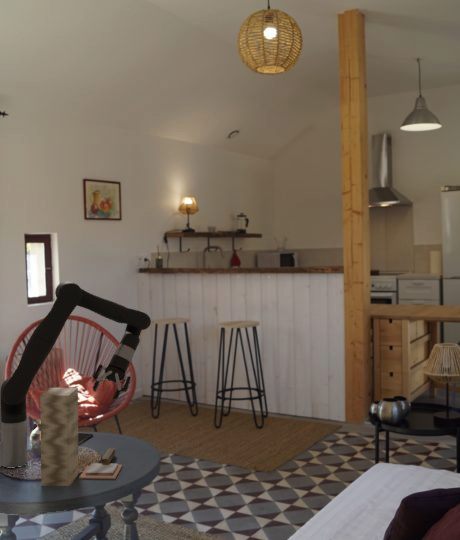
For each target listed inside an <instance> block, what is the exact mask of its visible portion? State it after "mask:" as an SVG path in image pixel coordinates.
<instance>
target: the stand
mask: <svg viewBox="0 0 460 540" xmlns="http://www.w3.org/2000/svg"><path fill="white" fill-rule="evenodd" d="M39 397H40V403H39V404H40V421H41V440H40V466H41V467H40V471H41V473H40V475H41V477H40V481H41V482H40V483H41V484H40V485H41V487H70V486H71V485H72V484H73V482H74V481H75V480H76V478H77V477H78V475H79V474H80V473H79V446H78V433H79V389H78V387H49V388H48V389H47V390H45V391H44V392H43V393H42V394H40V396H39Z"/></svg>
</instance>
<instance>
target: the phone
mask: <svg viewBox="0 0 460 540" xmlns="http://www.w3.org/2000/svg"><path fill="white" fill-rule="evenodd" d="M93 437H94V434H93V433H85V432H84V433H82V432H78V447H79V446H81V445H82V444H83V443H85V442H86V441H88V440H90V439H91V438H93Z"/></svg>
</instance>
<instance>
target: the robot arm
mask: <svg viewBox="0 0 460 540" xmlns="http://www.w3.org/2000/svg"><path fill="white" fill-rule="evenodd" d="M54 294H55V301H54V303H53V305H52V307H51V309H50V310H49V312H48V313H47V315H46V316H45V317H44V318H43V319H42V320H41V321H40V322H39V324H38V325H37V326H36V327H35V328H34V330H33V332H32V333H31V335H30V337H29V339H28V341H27V343H26V345H25V347H24V349H23V352H22V355H21V358H20V360H19V362H18V365H17V367H16V368H15V371H14V372H13V373H12V375H11V376H10V377H9V378H7V379H5V380H4V381H3V382H2V384H1V386H0V421H1V422H0V426H1V428H0V430H1V435H0V436H1V437H0V438H1V441H0V468H4V467H18V466H23V465H25V464H26V463H27V464H28V435H27V434H28V428H27V427H28V426H27V424H28V423H27V422H28V421H27V420H28V419H27V418H28V417H27V415H28V414H27V413H28V412H27V394H28V392H29V390H30V387H31V385H32V384H33V380H34V379H35V376H36V375H37V373H38V372H39V370H40V369H41V367H42V366H43V364H44V363H45V361H46V359H47V358H48V357H49V355H50V353H51V351H52V349H53V347H54V346H55V344H56V342H57V341H58V338H59V336H60V335H61V333H62V331H63V329H64V326H65V324H66V322H67V320H68V319H69V317H70V316H71V315H72V313H73V312H74V310H75V309H76V307H77V306H78V307H81V308H83V309H86V310H89V311H91V312H93V313H95V314H98V315H100V316H101V317H103V318H105V319H108V320H110V321H113V322H116V323H119V324H126V327H125V330H124V334H123V336H122V338H121V340H120V342H119V344H118V346H117V347H116V349H115V351H114V353H113V355H112V356H111V358H110V361H109V363H108V366H106V367H105V366H103V365H102V364H99V365H98V367H97V368H96V370H95V372H94V373H93V375H92V378H93V379H94V380H95V382H94V384H93V386H92V391H93V392H94V393H95V392H97V391H98V388H99V386H100V384H101V382H103V381H105V380H107V381H109V382H112V383H114V384H116V385H117V390H116V391H115V394H114V395H113V397H112V400H114V401H116V400H118V399H119V397H120V394H121V393H122V392H124V393H127V391H128V389H129V386H130V384H131V382H132V377H131V376H127V375H126V373H127V371H128V369H129V366H130V364H131V363H132V361H133V358H134V356H135V353H136V351H137V348H138V346H139V345H140V341H141V340H140V336H141V333H142V331H145V330H147V329H149V328H150V326H151V323H152V320H151V318H150V316H149V315H148V314H147V313H146V312H144V311H140V310H137V309H134V308H129V307H126V306H124V305H122V304H120V303H117V302H114V301H112V300H109V299H106V298H104V297H101V296H97V295H95V294H93V293H90V292H88V291H86V290H85V289H83V288H81V286H79V285H78V284H77V283H75V282H73V281H71V280H70V281H67V280H66V281H62V282H60V283H59V284H57V286H56V287H55V292H54ZM101 372H104V374H102V375H101V376H100V374H101ZM122 380H124V381H125V384H124V386H123V387H122V383H121V381H122ZM27 464H26V465H27ZM26 465H25V466H26ZM1 466H3V467H1ZM23 467H24V466H23Z"/></svg>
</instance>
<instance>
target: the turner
mask: <svg viewBox="0 0 460 540" xmlns="http://www.w3.org/2000/svg"><path fill="white" fill-rule="evenodd" d="M115 455H116V448H115V447H113V448H112V447H109V448H107V450H106V452H105V453H104V455H103V456H102V458H101V463H100V462H99V463H97V462H95V463H93V462H92V463H91V465H90V467H89V468H88V470H87V471H86V472H85V475H113V474H114V472H115V470H116V468H117V467H118V465H119V463H111V462H112V461H113V458H114V456H115Z"/></svg>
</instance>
